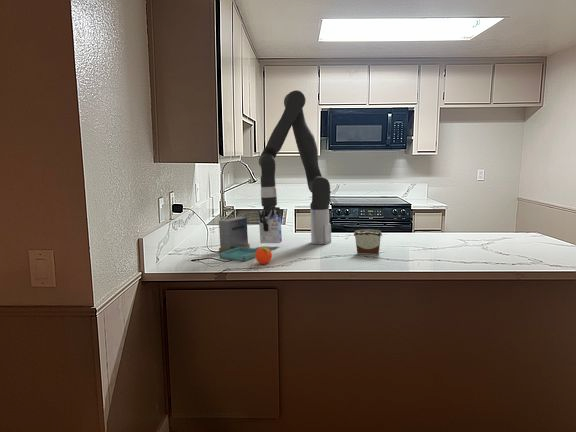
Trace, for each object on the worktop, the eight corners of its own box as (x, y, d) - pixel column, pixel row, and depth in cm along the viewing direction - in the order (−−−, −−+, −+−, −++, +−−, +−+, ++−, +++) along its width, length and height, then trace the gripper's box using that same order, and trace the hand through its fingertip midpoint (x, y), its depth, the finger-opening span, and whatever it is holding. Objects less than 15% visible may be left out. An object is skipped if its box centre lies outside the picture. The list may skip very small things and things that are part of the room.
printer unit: (249, 247, 200) (248, 217, 198) (230, 253, 188) (228, 221, 186) (238, 246, 204) (237, 216, 202) (219, 252, 192) (217, 220, 190)
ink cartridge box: (282, 241, 201) (280, 212, 199) (280, 243, 196) (278, 213, 194) (263, 241, 203) (261, 212, 201) (260, 243, 198) (258, 214, 196)
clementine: (276, 264, 167) (276, 247, 166) (261, 267, 163) (261, 249, 162) (267, 260, 173) (266, 244, 172) (252, 263, 170) (251, 246, 169)
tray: (264, 254, 184) (264, 249, 184) (244, 261, 173) (244, 256, 173) (241, 251, 193) (240, 246, 192) (220, 258, 181) (219, 253, 181)
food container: (383, 251, 182) (383, 229, 181) (382, 254, 176) (382, 232, 175) (356, 250, 186) (355, 228, 185) (353, 253, 180) (353, 231, 179)
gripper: (265, 197, 188) (267, 233, 191) (283, 194, 200) (285, 227, 202) (253, 197, 193) (255, 232, 195) (271, 194, 204) (273, 227, 207)
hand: (270, 229), depth 199 cm, fingers closed on ink cartridge box, 6 cm apart
